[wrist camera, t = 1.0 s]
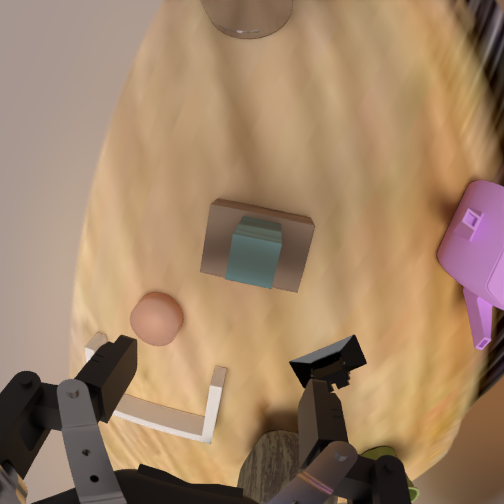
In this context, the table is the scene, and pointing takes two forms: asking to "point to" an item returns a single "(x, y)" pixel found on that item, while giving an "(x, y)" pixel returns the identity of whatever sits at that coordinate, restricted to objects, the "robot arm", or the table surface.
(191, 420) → the frame
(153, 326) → the pink rounded dome
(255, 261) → the brown and teal block
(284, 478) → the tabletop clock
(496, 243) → the teakettle
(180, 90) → the table surface
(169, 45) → the table surface
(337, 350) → the black angular piece
